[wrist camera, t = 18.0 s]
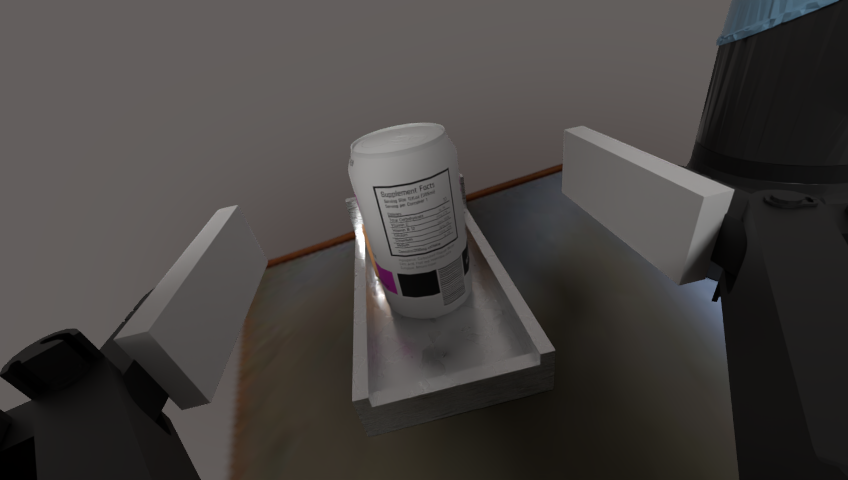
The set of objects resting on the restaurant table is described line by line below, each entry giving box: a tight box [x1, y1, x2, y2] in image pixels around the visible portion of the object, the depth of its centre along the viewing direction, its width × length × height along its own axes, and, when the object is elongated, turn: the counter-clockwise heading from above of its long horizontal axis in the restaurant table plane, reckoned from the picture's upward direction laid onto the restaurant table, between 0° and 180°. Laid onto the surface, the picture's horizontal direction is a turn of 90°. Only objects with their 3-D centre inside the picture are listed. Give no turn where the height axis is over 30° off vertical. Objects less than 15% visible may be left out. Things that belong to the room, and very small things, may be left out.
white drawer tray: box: [346, 174, 556, 437], centre depth 31 cm, size 22×13×8 cm, turn 9°
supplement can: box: [348, 123, 472, 319], centre depth 29 cm, size 8×8×15 cm
